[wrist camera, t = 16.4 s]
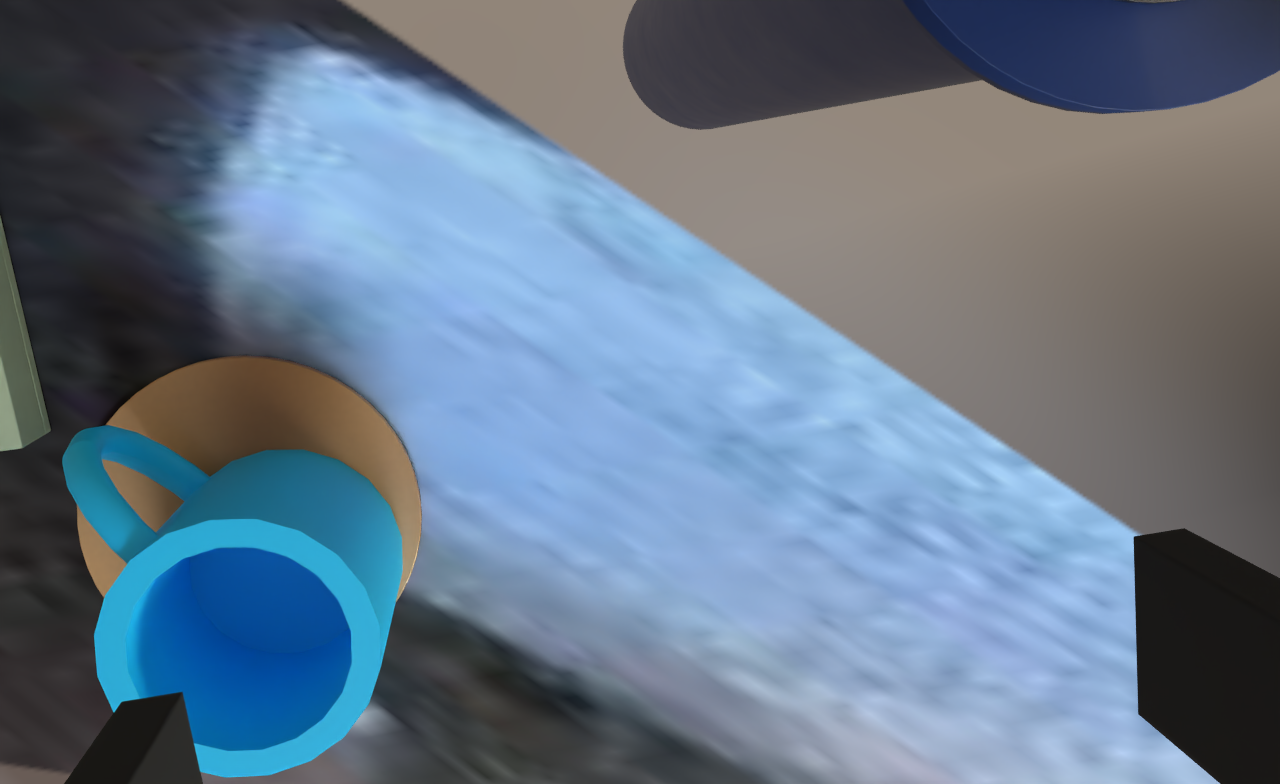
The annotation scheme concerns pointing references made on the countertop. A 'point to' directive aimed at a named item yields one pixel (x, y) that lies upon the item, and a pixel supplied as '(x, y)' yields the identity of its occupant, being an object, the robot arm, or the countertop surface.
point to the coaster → (254, 440)
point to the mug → (243, 595)
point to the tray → (17, 367)
